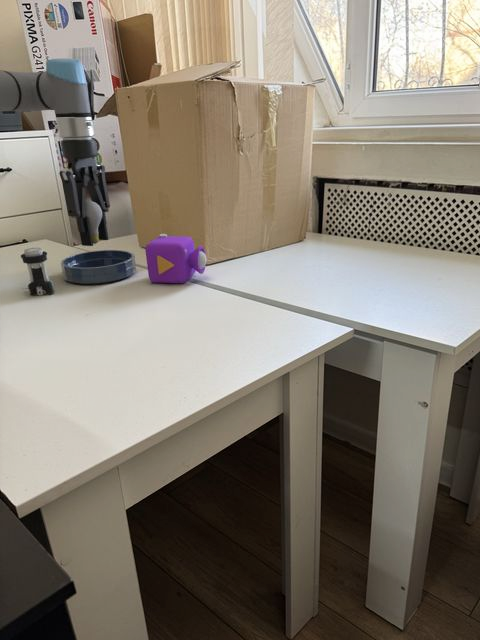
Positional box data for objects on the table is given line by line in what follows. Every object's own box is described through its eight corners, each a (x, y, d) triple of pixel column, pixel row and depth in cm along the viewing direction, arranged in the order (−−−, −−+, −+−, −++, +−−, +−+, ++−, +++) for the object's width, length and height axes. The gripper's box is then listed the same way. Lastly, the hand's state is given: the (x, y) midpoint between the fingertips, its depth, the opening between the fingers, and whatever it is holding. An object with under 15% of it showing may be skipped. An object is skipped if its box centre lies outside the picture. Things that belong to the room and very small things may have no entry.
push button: (20, 298, 111) (9, 253, 107) (27, 291, 116) (17, 247, 112) (51, 296, 112) (42, 251, 108) (57, 289, 117) (48, 246, 113)
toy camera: (206, 284, 116) (203, 241, 112) (147, 286, 117) (141, 243, 112) (210, 271, 126) (207, 231, 122) (155, 273, 126) (150, 232, 122)
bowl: (49, 282, 121) (45, 265, 120) (93, 263, 136) (90, 248, 134) (110, 288, 116) (107, 270, 114) (149, 268, 131) (147, 251, 129)
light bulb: (79, 246, 121) (71, 202, 117) (89, 241, 126) (82, 199, 121) (100, 246, 120) (93, 202, 116) (110, 241, 125) (104, 199, 121)
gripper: (64, 140, 104) (84, 252, 114) (115, 136, 119) (129, 234, 129) (34, 141, 106) (57, 251, 116) (89, 136, 122) (105, 233, 132)
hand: (95, 242), depth 123 cm, fingers closed on light bulb, 5 cm apart
